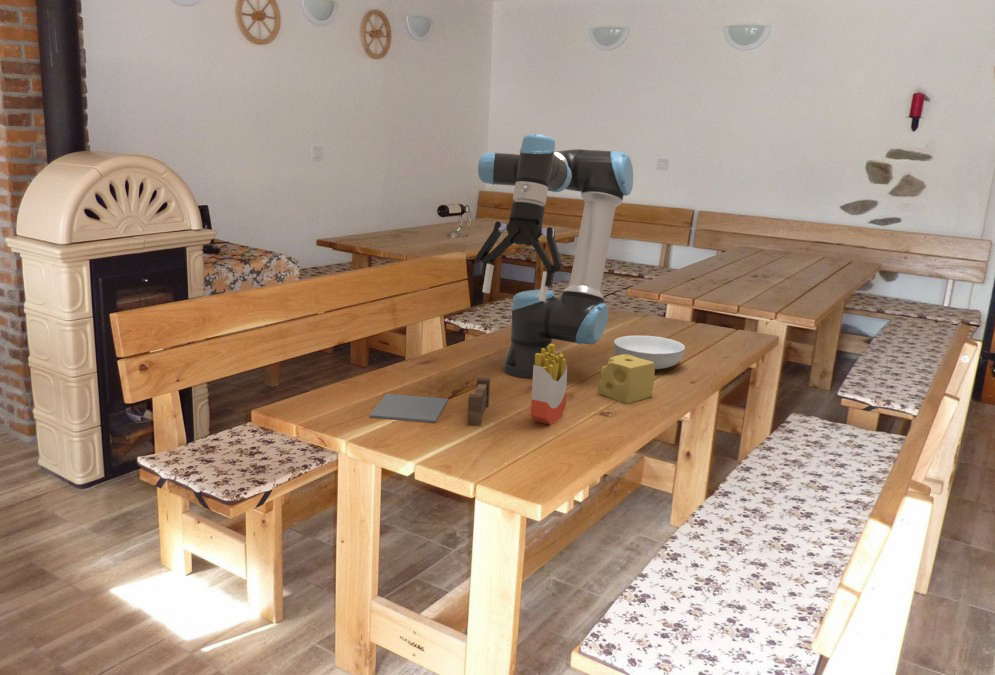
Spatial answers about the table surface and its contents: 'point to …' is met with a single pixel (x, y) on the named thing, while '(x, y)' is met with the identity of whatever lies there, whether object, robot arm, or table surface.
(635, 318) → the table surface
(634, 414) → the table surface
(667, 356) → the serving bowl
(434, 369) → the table surface
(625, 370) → the cheese
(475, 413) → the walnut fence
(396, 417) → the slate mat
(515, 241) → the robot arm
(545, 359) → the french fries container
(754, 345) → the table surface
